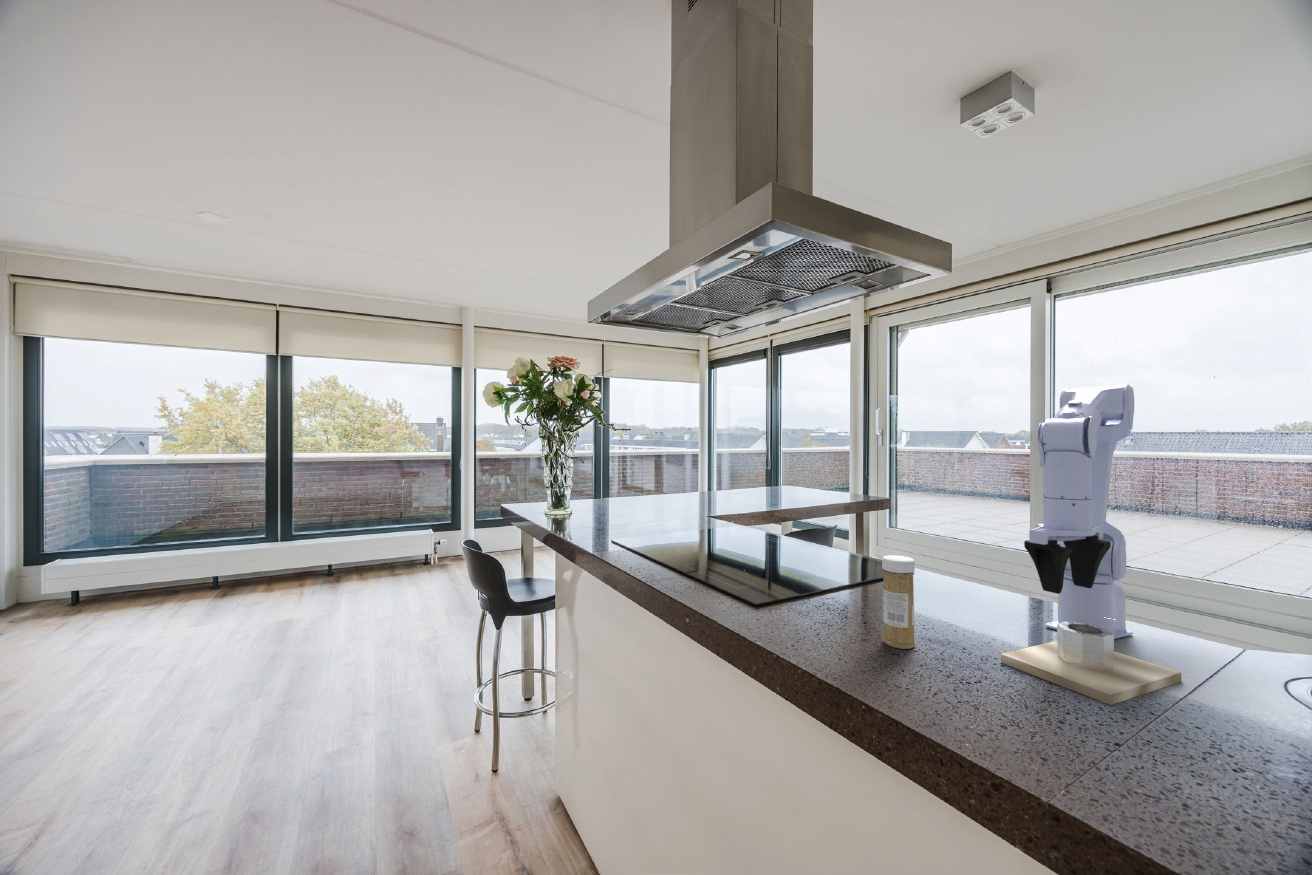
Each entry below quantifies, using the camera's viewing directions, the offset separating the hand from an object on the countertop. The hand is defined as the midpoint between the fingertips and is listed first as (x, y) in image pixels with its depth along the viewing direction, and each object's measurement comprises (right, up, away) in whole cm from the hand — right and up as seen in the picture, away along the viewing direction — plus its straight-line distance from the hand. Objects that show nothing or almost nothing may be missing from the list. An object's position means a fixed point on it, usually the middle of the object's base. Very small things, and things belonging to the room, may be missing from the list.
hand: (1067, 589), depth 77 cm
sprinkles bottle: (-24, -10, +3) cm, 26 cm away
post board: (-3, -9, -7) cm, 12 cm away
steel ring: (-3, -8, -6) cm, 11 cm away
